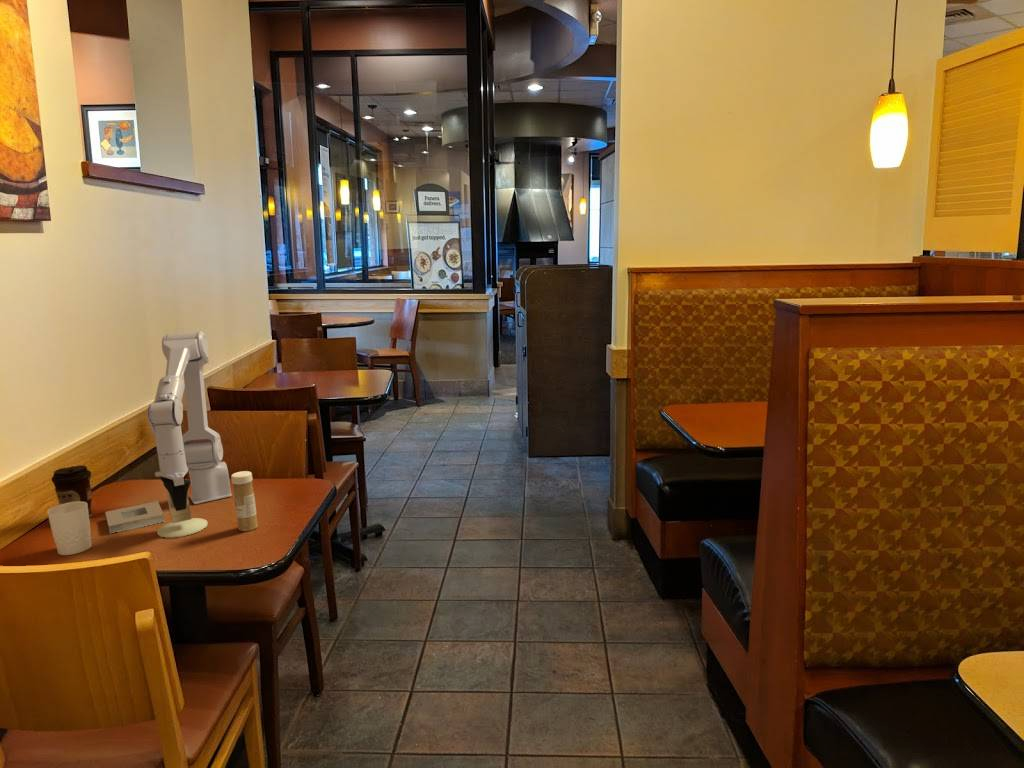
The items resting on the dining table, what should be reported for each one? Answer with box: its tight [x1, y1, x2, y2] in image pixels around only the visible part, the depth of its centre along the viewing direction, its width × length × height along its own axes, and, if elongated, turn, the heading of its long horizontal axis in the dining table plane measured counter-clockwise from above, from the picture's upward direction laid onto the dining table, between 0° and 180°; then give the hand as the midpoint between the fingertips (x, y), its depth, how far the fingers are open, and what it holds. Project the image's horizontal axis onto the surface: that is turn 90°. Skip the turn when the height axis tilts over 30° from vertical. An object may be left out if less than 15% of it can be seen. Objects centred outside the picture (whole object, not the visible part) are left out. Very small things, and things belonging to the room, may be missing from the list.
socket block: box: [104, 500, 166, 535], centre depth 188 cm, size 12×12×2 cm
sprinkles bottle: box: [230, 470, 259, 532], centre depth 177 cm, size 5×5×13 cm
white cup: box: [46, 501, 92, 556], centre depth 171 cm, size 8×8×10 cm
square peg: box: [165, 488, 192, 523], centre depth 179 cm, size 4×4×8 cm
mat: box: [156, 517, 209, 539], centre depth 181 cm, size 11×11×1 cm
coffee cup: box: [51, 465, 93, 516], centre depth 191 cm, size 9×8×13 cm
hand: (179, 506), depth 180 cm, fingers closed on square peg, 4 cm apart
